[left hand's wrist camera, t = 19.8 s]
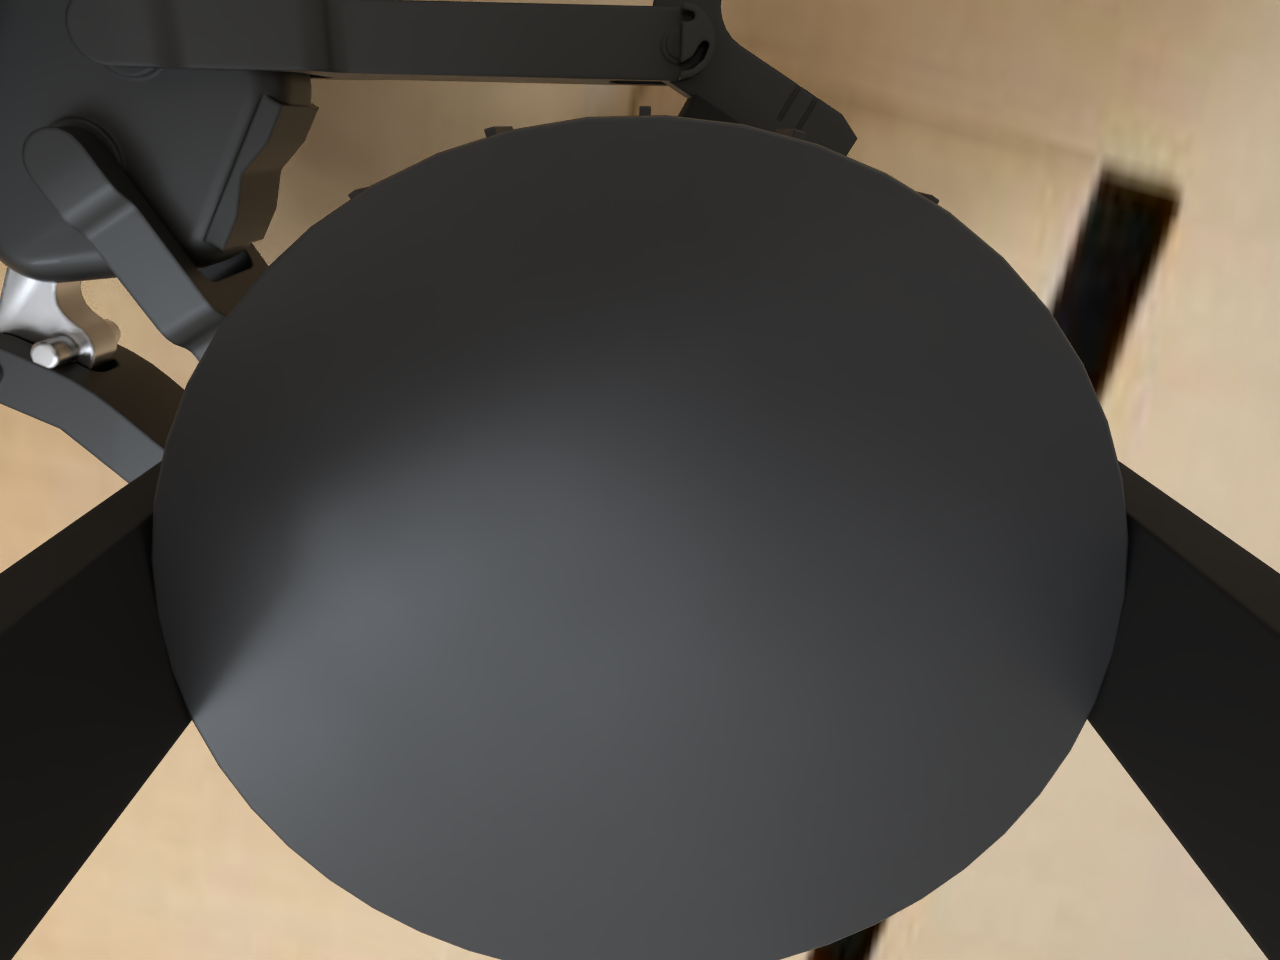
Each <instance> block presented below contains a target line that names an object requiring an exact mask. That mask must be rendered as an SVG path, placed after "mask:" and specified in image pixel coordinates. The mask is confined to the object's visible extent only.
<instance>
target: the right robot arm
mask: <svg viewBox="0 0 1280 960" xmlns="http://www.w3.org/2000/svg"><path fill="white" fill-rule="evenodd" d="M310 79H340V80H380V79H381V80H427V81H471V82H515V83H558V84H602V85H646V86H669V87H671V88H672V89H674V90H675V91H677V92H678V93H680V94H682V95H683V96H685V97H686V98H688V99H687V101H686V103H685V104H684V106H683V108H682V110H681V111H680V113H679V115H678V117H686V118H694V119H703V120H711V121H720V122H728V123H737V124H744V125H748V126H752V127H755V128H759V129H763V130H767V131H770V132H774V133H775V132H776V129H795V130H799V131H802V132H805V136H804V139H803V140H804V141H808V142H812V143H815V144H819V145H821V146H823V147H826V148H828V149H830V150H833V151H835V152H837V153H840V154H842V155H844V156H846V155H847V154H848V152H849V151H850V149H851V148H852V146H853V144H854V143H855V141H856V140H857V137H856V136H855V134H854V133H853V131H852V129H851V128H850V126H849V125H848V123H847V121H846V120H845V118H844V117H843V115H842V114H841V113H839V112H838V111H836V110H835V109H833V108H832V107H830V106H829V105H827V104H826V103H824V102H823V101H821V100H820V99H818V98H816V97H815V96H814V95H813V94H811V93H810V92H808V91H807V90H805V89H804V88H802V87H800V86H799V85H797V84H796V83H795V82H793V81H792V80H790V79H789V78H787V77H786V76H784V75H783V74H781V73H780V72H778V71H777V70H776V69H774V68H773V67H771V66H770V65H768V64H767V63H765V62H764V61H762V60H761V59H759V58H758V57H756V56H755V55H753V54H752V53H750V52H749V51H747V50H746V49H744V48H743V47H742V46H740V45H739V44H738V43H737V42H736V41H735V40H733V39H732V37H731V36H730V34H729V33H728V31H727V30H726V28H725V25H724V22H723V20H722V14H721V0H654V2H653V6H624V5H581V4H539V3H496V2H454V1H411V0H0V261H1V262H2V263H3V264H5V265H6V266H8V267H7V271H6V276H5V280H4V284H3V289H2V293H1V297H0V403H1V404H3V405H5V406H8V407H10V408H12V409H15V410H17V411H20V412H22V413H24V414H27V415H29V416H31V417H34V418H36V419H38V420H41V421H43V422H46V423H48V424H50V425H53V426H55V427H57V428H60V429H61V430H63V431H64V432H65V433H66V434H68V435H69V436H70V437H71V438H73V439H74V440H75V441H76V442H78V443H79V444H80V445H81V446H83V447H84V448H85V449H86V450H88V451H89V452H90V453H91V454H93V455H94V456H95V457H96V458H98V459H99V460H100V461H101V462H103V463H104V464H105V465H106V466H108V467H109V468H110V469H112V470H113V471H114V472H115V473H117V474H118V475H119V476H120V477H122V478H123V479H124V480H125V481H127V482H128V483H130V482H132V481H133V480H135V479H136V478H138V477H139V476H140V475H142V474H143V473H145V472H146V471H148V470H149V469H150V468H152V467H153V466H155V465H156V464H158V463H159V462H160V461H162V458H163V453H164V448H165V443H166V440H167V437H168V434H169V431H170V429H171V426H172V423H173V421H174V418H175V415H176V412H177V410H178V407H179V404H180V402H181V399H182V396H183V394H184V391H185V390H184V389H183V388H182V387H180V386H179V385H178V384H177V383H176V382H174V381H173V380H172V379H171V378H170V377H168V376H167V375H166V374H165V373H163V372H162V371H161V370H159V369H158V368H157V367H155V366H154V365H153V364H151V363H150V362H148V361H147V360H145V359H143V358H142V357H140V356H139V355H137V354H135V353H134V352H132V351H130V350H128V349H126V348H124V347H122V346H120V345H118V344H117V342H118V340H119V339H120V330H119V328H118V326H117V325H116V324H115V323H114V322H113V321H110V320H108V319H103V318H101V317H100V316H99V315H97V314H96V313H95V312H93V311H92V310H91V309H90V308H89V306H88V305H87V304H86V302H85V300H84V298H83V296H82V292H81V281H85V280H96V279H106V278H118V279H119V280H120V282H121V283H122V284H123V286H124V287H125V288H126V289H127V291H128V292H129V293H130V295H131V296H132V297H133V298H134V300H135V301H136V302H137V303H138V305H139V306H140V307H141V309H142V310H143V311H144V312H145V314H146V315H147V316H148V318H149V319H150V320H151V321H152V323H153V324H154V325H155V326H156V328H157V329H158V330H159V331H160V332H161V334H162V335H163V336H164V337H165V338H166V339H168V340H169V341H171V342H172V343H173V344H175V345H178V346H181V347H183V348H186V349H188V350H189V351H190V352H192V353H193V355H194V356H195V357H196V358H197V359H198V360H199V361H200V360H201V358H202V356H203V354H204V353H205V351H206V349H207V347H208V345H209V344H210V342H211V340H212V338H213V336H214V335H215V333H216V331H217V329H218V328H219V326H220V325H221V324H222V322H223V321H224V320H225V319H226V317H227V316H228V315H229V313H230V312H231V311H232V310H233V308H234V307H235V306H236V305H237V303H238V302H239V301H240V299H241V298H242V297H243V296H244V294H245V293H246V291H247V290H248V288H249V287H250V286H251V285H252V284H253V283H254V282H255V280H256V279H257V278H258V277H259V275H260V274H261V273H262V272H263V271H264V270H265V269H266V268H268V267H269V266H268V265H267V263H266V262H265V261H264V259H263V258H262V257H261V255H260V254H259V252H258V251H257V250H256V248H255V247H254V245H253V244H252V242H255V241H258V240H262V239H263V238H264V236H265V233H266V231H267V229H268V226H269V224H270V222H271V219H272V217H273V215H274V212H275V210H276V206H277V198H278V190H279V182H280V174H281V170H282V168H283V167H284V165H285V164H286V163H287V162H288V161H289V159H290V158H291V157H292V156H293V154H294V153H295V152H296V151H297V150H298V148H299V147H300V146H301V145H302V144H303V142H304V141H305V139H306V137H307V134H308V132H309V129H310V127H311V125H312V122H313V120H314V118H315V115H316V113H317V111H318V108H319V107H317V106H315V105H314V104H312V103H311V80H310Z"/></svg>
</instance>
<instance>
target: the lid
mask: <svg viewBox="0 0 1280 960" xmlns="http://www.w3.org/2000/svg"><path fill="white" fill-rule="evenodd" d="M485 134H486V137H487V138H484V139H481V140H477V141H474V142H471V143H468V144H465V145H462V146H459V147H456V148H452V149H449V150H446V151H443V152H440V153H437V154H435V155H433V156H431V157H429V158H427V159H425V160H423V161H421V162H419V163H417V164H415V165H413V166H410V167H408V168H406V169H404V170H402V171H400V172H398V173H396V174H394V175H392V176H390V177H388V178H386V179H384V180H382V181H380V182H378V183H376V184H374V185H372V186H370V187H366V188H361V189H357V190H355V191H353V192H352V193H350V194H349V195H348V196H349V197H350V199H351V200H349V201H348V202H347V203H345V204H344V205H342V206H341V207H339V208H338V209H336V210H335V211H333V212H332V213H330V214H329V215H328V216H326V217H325V218H323V219H322V220H320V221H319V222H317V223H316V224H314V225H313V226H312V227H310V228H309V229H308V230H307V231H306V232H305V233H304V234H303V235H302V236H301V237H300V238H299V239H297V240H296V241H295V242H294V243H293V244H292V245H291V246H290V247H289V248H288V249H287V250H286V251H285V252H284V253H283V254H281V255H280V256H279V257H278V258H277V259H276V260H275V261H274V262H273V263H272V264H271V265H270V266H269V267H268V268H266V269H265V270H264V271H263V272H262V273H261V274H260V275H259V277H258V278H257V279H256V280H255V282H254V283H253V284H252V285H251V286H250V287H249V288H248V290H247V291H246V293H245V294H244V296H243V297H242V298H241V299H240V301H239V302H238V303H237V305H236V306H235V307H234V308H233V310H232V311H231V312H230V313H229V315H228V316H227V317H226V319H225V320H224V321H223V322H222V324H221V325H220V326H219V328H218V329H217V331H216V333H215V335H214V336H213V338H212V340H211V342H210V344H209V345H208V347H207V349H206V351H205V353H204V354H203V356H202V358H201V360H200V361H199V363H198V365H197V367H196V369H195V370H194V372H193V374H192V376H191V378H190V379H189V381H188V383H187V385H186V388H185V391H184V394H183V396H182V399H181V402H180V404H179V407H178V410H177V412H176V415H175V418H174V421H173V423H172V426H171V429H170V431H169V434H168V437H167V440H166V443H165V448H164V453H163V458H162V463H161V468H160V473H159V478H158V483H157V488H156V493H155V498H154V508H153V531H152V554H151V562H152V571H153V580H154V590H155V599H156V608H157V614H158V619H159V623H160V627H161V631H162V635H163V640H164V644H165V647H166V651H167V655H168V659H169V663H170V667H171V670H172V673H173V675H174V677H175V680H176V682H177V685H178V687H179V689H180V692H181V694H182V697H183V699H184V702H185V704H186V706H187V709H188V711H189V714H190V716H191V718H192V721H193V722H194V724H195V726H196V727H197V729H198V731H199V733H200V734H201V736H202V738H203V739H204V741H205V743H206V745H207V746H208V748H209V750H210V752H211V753H212V755H213V757H214V758H215V760H216V762H217V764H218V765H219V767H220V768H221V769H222V771H223V772H224V773H225V775H226V776H227V777H228V779H229V780H230V781H231V783H232V784H233V785H234V786H235V788H236V789H237V790H238V792H239V793H240V794H241V796H242V797H243V798H244V800H245V801H246V802H247V803H248V805H249V806H250V807H251V809H252V810H253V811H254V812H255V813H256V814H257V815H258V816H259V817H260V818H261V819H262V820H263V821H264V822H265V823H266V824H267V825H268V826H269V827H270V828H271V829H272V830H273V831H274V832H275V833H276V834H277V835H278V836H279V837H280V838H281V839H282V840H283V841H284V843H285V844H286V845H287V846H288V847H290V848H291V849H292V850H293V851H295V852H296V853H297V854H298V855H299V856H301V857H302V858H303V859H304V860H306V861H307V862H308V863H309V864H311V865H312V866H313V867H314V868H315V869H317V870H318V871H319V872H320V873H322V874H323V875H324V876H325V877H326V878H328V879H329V880H330V881H332V882H333V883H335V884H337V885H338V886H340V887H341V888H343V889H344V890H346V891H347V892H349V893H351V894H352V895H354V896H355V897H357V898H358V899H360V900H361V901H363V902H364V903H366V904H368V905H369V906H371V907H372V908H374V909H376V910H378V911H380V912H382V913H384V914H386V915H388V916H390V917H392V918H394V919H396V920H398V921H400V922H402V923H403V924H405V925H407V926H409V927H411V928H413V929H415V930H417V931H419V932H422V933H424V934H427V935H429V936H432V937H435V938H437V939H440V940H442V941H445V942H448V943H450V944H453V945H455V946H458V947H461V948H463V949H466V950H468V951H472V952H475V953H479V954H483V955H486V956H490V957H494V958H497V959H501V960H780V959H784V958H787V957H790V956H793V955H796V954H800V953H803V952H806V951H809V950H812V949H816V948H819V947H822V946H825V945H828V944H831V943H833V942H835V941H838V940H840V939H842V938H845V937H847V936H849V935H852V934H854V933H856V932H859V931H861V930H863V929H866V928H868V927H870V926H873V925H875V924H877V923H879V922H881V921H883V920H884V919H886V918H888V917H890V916H892V915H893V914H895V913H897V912H899V911H901V910H902V909H904V908H906V907H908V906H910V905H912V904H913V903H915V902H917V901H919V900H921V899H922V898H924V897H925V896H927V895H928V894H929V893H931V892H932V891H934V890H935V889H937V888H938V887H939V886H941V885H942V884H944V883H945V882H947V881H948V880H949V879H951V878H952V877H954V876H955V875H957V874H958V873H959V872H961V871H962V870H964V869H965V868H966V867H967V866H968V865H970V864H971V863H972V862H973V861H974V860H975V859H976V858H978V857H979V856H980V855H981V854H982V853H983V852H984V851H985V850H987V849H988V848H989V847H990V846H991V845H992V844H993V843H995V842H996V841H997V840H998V839H999V838H1000V837H1001V836H1003V835H1004V834H1005V833H1006V831H1007V830H1008V829H1009V828H1010V827H1011V826H1012V825H1013V824H1014V823H1015V821H1016V820H1017V819H1018V818H1019V817H1020V816H1021V815H1022V814H1023V813H1024V811H1025V810H1026V809H1027V808H1028V807H1029V806H1030V805H1031V804H1032V803H1033V801H1034V800H1035V799H1036V798H1037V797H1038V796H1039V795H1040V793H1041V792H1042V791H1043V789H1044V788H1045V786H1046V785H1047V783H1048V782H1049V781H1050V779H1051V778H1052V776H1053V775H1054V773H1055V772H1056V771H1057V769H1058V768H1059V766H1060V765H1061V763H1062V762H1063V761H1064V759H1065V758H1066V756H1067V755H1068V753H1069V752H1070V751H1071V749H1072V747H1073V745H1074V743H1075V741H1076V739H1077V737H1078V735H1079V733H1080V731H1081V729H1082V728H1083V726H1084V724H1085V722H1086V720H1087V718H1088V716H1089V714H1090V712H1091V710H1092V708H1093V706H1094V705H1095V703H1096V700H1097V697H1098V694H1099V691H1100V689H1101V686H1102V683H1103V680H1104V678H1105V675H1106V672H1107V669H1108V666H1109V664H1110V661H1111V658H1112V655H1113V651H1114V647H1115V642H1116V638H1117V633H1118V629H1119V624H1120V620H1121V615H1122V610H1123V605H1124V600H1125V593H1126V575H1127V557H1128V530H1127V519H1126V509H1125V498H1124V488H1123V479H1122V476H1121V472H1120V468H1119V464H1118V460H1117V456H1116V452H1115V448H1114V444H1113V440H1112V436H1111V433H1110V429H1109V425H1108V421H1107V419H1106V416H1105V414H1104V412H1103V409H1102V407H1101V405H1100V403H1099V400H1098V398H1097V396H1096V393H1095V391H1094V389H1093V386H1092V384H1091V382H1090V379H1089V377H1088V375H1087V372H1086V370H1085V368H1084V365H1083V363H1082V362H1081V360H1080V359H1079V357H1078V355H1077V354H1076V352H1075V351H1074V349H1073V347H1072V346H1071V344H1070V343H1069V341H1068V340H1067V338H1066V336H1065V335H1064V333H1063V332H1062V330H1061V328H1060V327H1059V325H1058V324H1057V322H1056V321H1055V319H1054V317H1053V316H1052V314H1051V313H1050V311H1049V309H1048V308H1047V307H1046V306H1045V305H1044V304H1043V302H1042V301H1041V300H1040V299H1039V298H1038V296H1037V295H1036V294H1035V292H1033V291H1032V290H1031V289H1030V288H1029V286H1028V285H1027V284H1026V283H1025V282H1024V281H1023V279H1022V278H1021V277H1020V276H1019V275H1018V274H1017V273H1016V271H1015V270H1014V269H1013V268H1012V267H1011V266H1010V265H1009V263H1008V262H1007V261H1006V260H1005V259H1004V258H1003V257H1002V256H1001V255H1000V254H999V253H997V252H996V251H995V250H994V249H993V248H991V247H990V246H989V245H988V244H987V243H985V242H984V241H983V240H982V239H981V238H980V237H978V236H977V235H976V234H975V233H974V232H972V231H971V230H970V229H969V228H968V227H967V226H965V225H964V224H963V223H962V222H961V221H959V220H958V219H957V218H956V217H955V216H953V215H952V214H951V213H950V212H948V211H947V210H945V209H944V208H942V207H940V206H939V205H937V204H938V202H939V200H938V199H937V198H935V197H934V196H933V195H929V194H925V193H921V192H916V191H914V190H913V189H911V188H909V187H908V186H906V185H905V184H903V183H901V182H900V181H898V180H896V179H895V178H893V177H892V176H890V175H888V174H886V173H884V172H882V171H879V170H877V169H875V168H872V167H870V166H868V165H865V164H863V163H861V162H858V161H856V160H854V159H851V158H849V157H847V156H844V155H842V154H840V153H837V152H835V151H833V150H830V149H828V148H826V147H823V146H821V145H819V144H815V143H812V142H808V141H804V140H803V139H804V136H805V132H802V131H799V130H795V129H776V132H775V133H774V132H770V131H767V130H763V129H759V128H755V127H752V126H748V125H744V124H737V123H728V122H720V121H711V120H703V119H694V118H686V117H677V116H669V115H651V107H650V106H640V116H609V117H585V118H579V119H573V120H567V121H561V122H555V123H549V124H543V125H537V126H531V127H525V128H519V129H513V128H512V127H491V128H487V129H485Z"/></svg>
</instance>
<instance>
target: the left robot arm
mask: <svg viewBox="0 0 1280 960" xmlns="http://www.w3.org/2000/svg"><path fill="white" fill-rule="evenodd" d="M161 463H162V461H160V462H159V463H158V464H156V465H155V466H153V467H152V468H150V469H149V470H148V471H146V472H145V473H143V474H142V475H140V476H139V477H138V478H136V479H135V480H133V481H132V482H130V483H129V484H128V485H126V486H125V487H123V488H122V489H120V490H119V491H118V492H116V493H115V494H113V495H112V496H110V497H109V498H108V499H106V500H105V501H103V502H102V503H100V504H99V505H98V506H96V507H95V508H93V509H92V510H90V511H89V512H88V513H86V514H85V515H83V516H82V517H80V518H79V519H78V520H76V521H75V522H73V523H72V524H70V525H69V526H68V527H66V528H65V529H63V530H62V531H60V532H59V533H58V534H56V535H55V536H53V537H52V538H50V539H49V540H48V541H46V542H45V543H43V544H42V545H40V546H39V547H38V548H36V549H35V550H33V551H32V552H30V553H29V554H28V555H26V556H25V557H23V558H22V559H20V560H19V561H18V562H16V563H15V564H13V565H12V566H10V567H9V568H8V569H6V570H5V571H3V572H2V573H0V960H11V959H12V958H13V957H14V955H15V954H16V953H17V951H18V950H19V949H20V947H21V946H22V945H23V943H24V942H25V941H26V939H27V938H28V937H29V935H30V934H31V933H32V931H33V930H34V929H35V927H36V926H37V925H38V924H39V922H40V921H41V920H42V918H43V917H44V916H45V914H46V913H47V912H48V910H49V909H50V908H51V906H52V905H53V904H54V902H55V901H56V900H57V898H58V897H59V896H60V894H61V893H62V892H63V890H64V889H65V888H66V886H67V885H68V884H69V882H70V881H71V880H72V878H73V877H74V876H75V874H76V873H77V872H78V870H79V869H80V868H81V866H82V865H83V864H84V862H85V861H86V860H87V859H88V857H89V856H90V855H91V853H92V852H93V851H94V849H95V848H96V847H97V845H98V844H99V843H100V841H101V840H102V839H103V837H104V836H105V835H106V833H107V832H108V831H109V829H110V828H111V827H112V825H113V824H114V823H115V821H116V820H117V819H118V817H119V816H120V815H121V813H122V812H123V811H124V809H125V808H126V807H127V805H128V804H129V803H130V801H131V800H132V799H133V797H134V796H135V795H136V794H137V792H138V791H139V790H140V788H141V787H142V786H143V784H144V783H145V782H146V780H147V779H148V778H149V776H150V775H151V774H152V772H153V771H154V770H155V768H156V767H157V766H158V764H159V763H160V762H161V760H162V759H163V758H164V756H165V755H166V754H167V752H168V751H169V750H170V748H171V747H172V746H173V744H174V743H175V742H176V740H177V739H178V738H179V736H180V735H181V734H182V732H183V731H184V730H185V728H186V727H187V726H188V725H189V723H190V722H191V721H192V718H191V716H190V714H189V711H188V709H187V706H186V704H185V702H184V699H183V697H182V694H181V692H180V689H179V687H178V685H177V682H176V680H175V677H174V675H173V673H172V670H171V667H170V663H169V659H168V655H167V651H166V647H165V644H164V640H163V635H162V631H161V627H160V623H159V619H158V614H157V608H156V599H155V590H154V580H153V571H152V562H151V554H152V531H153V508H154V498H155V493H156V488H157V483H158V478H159V473H160V468H161ZM1118 464H1119V468H1120V472H1121V476H1122V479H1123V488H1124V498H1125V509H1126V519H1127V530H1128V557H1127V575H1126V593H1125V600H1124V605H1123V610H1122V615H1121V620H1120V624H1119V629H1118V633H1117V638H1116V642H1115V647H1114V651H1113V655H1112V658H1111V661H1110V664H1109V666H1108V669H1107V672H1106V675H1105V678H1104V680H1103V683H1102V686H1101V689H1100V691H1099V694H1098V697H1097V700H1096V703H1095V705H1094V706H1093V708H1092V710H1091V712H1090V714H1089V716H1088V718H1087V719H1088V721H1089V722H1090V723H1091V725H1092V726H1093V727H1094V729H1095V730H1096V731H1097V733H1098V734H1099V735H1100V737H1101V738H1102V739H1103V741H1104V742H1105V743H1106V745H1107V746H1108V747H1109V749H1110V750H1111V751H1112V753H1113V754H1114V755H1115V757H1116V758H1117V759H1118V761H1119V762H1120V763H1121V765H1122V766H1123V767H1124V769H1125V770H1126V771H1127V773H1128V774H1129V775H1130V777H1131V778H1132V779H1133V781H1134V782H1135V783H1136V784H1137V786H1138V787H1139V788H1140V790H1141V791H1142V792H1143V794H1144V795H1145V796H1146V798H1147V799H1148V800H1149V802H1150V803H1151V804H1152V806H1153V807H1154V808H1155V810H1156V811H1157V812H1158V814H1159V815H1160V816H1161V818H1162V819H1163V820H1164V822H1165V823H1166V824H1167V826H1168V827H1169V828H1170V830H1171V831H1172V832H1173V834H1174V835H1175V836H1176V838H1177V839H1178V840H1179V842H1180V843H1181V844H1182V846H1183V847H1184V848H1185V849H1186V851H1187V852H1188V853H1189V855H1190V856H1191V857H1192V859H1193V860H1194V861H1195V863H1196V864H1197V865H1198V867H1199V868H1200V869H1201V871H1202V872H1203V873H1204V875H1205V876H1206V877H1207V879H1208V880H1209V881H1210V883H1211V884H1212V885H1213V887H1214V888H1215V889H1216V891H1217V892H1218V893H1219V895H1220V896H1221V897H1222V899H1223V900H1224V901H1225V903H1226V904H1227V905H1228V907H1229V908H1230V909H1231V911H1232V912H1233V913H1234V915H1235V916H1236V917H1237V918H1238V920H1239V921H1240V922H1241V924H1242V925H1243V926H1244V928H1245V929H1246V930H1247V932H1248V933H1249V934H1250V936H1251V937H1252V938H1253V940H1254V941H1255V942H1256V944H1257V945H1258V946H1259V948H1260V949H1261V950H1262V952H1263V953H1264V954H1265V956H1266V957H1267V958H1268V960H1280V574H1279V573H1278V572H1276V571H1275V570H1274V569H1272V568H1271V567H1269V566H1268V565H1266V564H1265V563H1264V562H1262V561H1261V560H1259V559H1258V558H1256V557H1255V556H1254V555H1252V554H1251V553H1249V552H1248V551H1246V550H1245V549H1244V548H1242V547H1241V546H1239V545H1238V544H1236V543H1235V542H1234V541H1232V540H1231V539H1229V538H1228V537H1226V536H1225V535H1224V534H1222V533H1221V532H1219V531H1218V530H1216V529H1215V528H1214V527H1212V526H1211V525H1209V524H1208V523H1207V522H1205V521H1204V520H1202V519H1201V518H1199V517H1198V516H1197V515H1195V514H1194V513H1192V512H1191V511H1189V510H1188V509H1187V508H1185V507H1184V506H1182V505H1181V504H1179V503H1178V502H1177V501H1175V500H1174V499H1172V498H1171V497H1169V496H1168V495H1167V494H1165V493H1164V492H1162V491H1161V490H1159V489H1158V488H1157V487H1155V486H1154V485H1152V484H1151V483H1149V482H1148V481H1147V480H1145V479H1144V478H1142V477H1141V476H1139V475H1138V474H1137V473H1135V472H1134V471H1132V470H1131V469H1129V468H1128V467H1127V466H1125V465H1124V464H1122V463H1121V462H1119V461H1118Z"/></svg>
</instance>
